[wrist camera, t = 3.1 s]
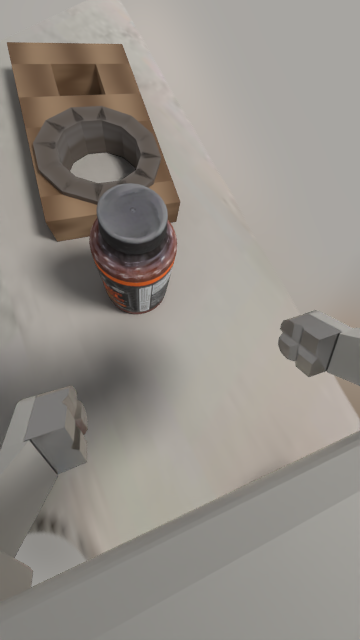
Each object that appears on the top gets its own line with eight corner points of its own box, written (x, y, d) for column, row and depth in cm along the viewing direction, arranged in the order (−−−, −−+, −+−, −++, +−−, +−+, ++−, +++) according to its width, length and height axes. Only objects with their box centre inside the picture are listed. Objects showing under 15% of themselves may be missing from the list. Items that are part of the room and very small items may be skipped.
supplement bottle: (94, 285, 23) (51, 198, 12) (140, 252, 24) (137, 150, 14) (134, 328, 22) (125, 278, 11) (177, 291, 24) (205, 218, 13)
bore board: (57, 241, 23) (43, 218, 20) (20, 76, 28) (4, 35, 25) (176, 221, 26) (181, 198, 23) (124, 75, 31) (121, 38, 28)
